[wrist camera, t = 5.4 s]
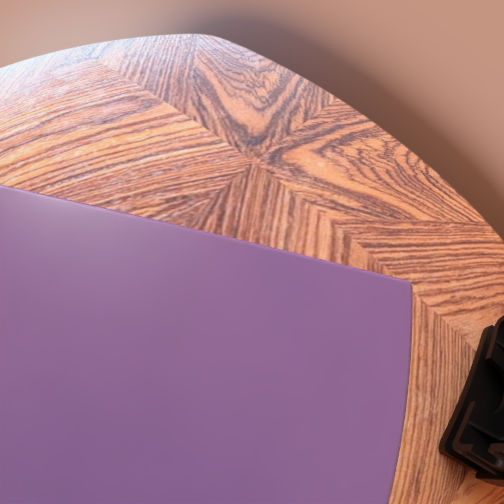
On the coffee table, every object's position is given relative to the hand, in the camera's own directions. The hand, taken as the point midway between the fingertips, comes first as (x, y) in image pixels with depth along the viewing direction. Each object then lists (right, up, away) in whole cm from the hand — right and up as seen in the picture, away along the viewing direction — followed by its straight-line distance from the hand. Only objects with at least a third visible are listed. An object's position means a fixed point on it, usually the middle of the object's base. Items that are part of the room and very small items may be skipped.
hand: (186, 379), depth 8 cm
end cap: (+17, -7, +7) cm, 20 cm away
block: (-1, -4, +5) cm, 7 cm away
